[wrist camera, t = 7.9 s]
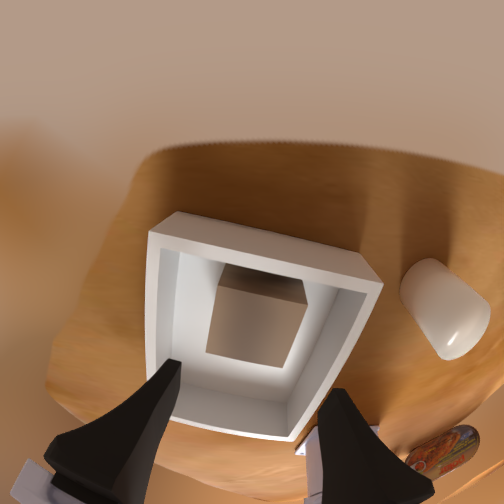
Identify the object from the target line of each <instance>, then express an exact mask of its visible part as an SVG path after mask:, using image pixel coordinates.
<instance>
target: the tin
mask: <svg viewBox="0 0 504 504" xmlns="http://www.w3.org/2000/svg"><path fill="white" fill-rule="evenodd" d="M479 443H480V436H479V433H478V431H477V430H476V429H475V428H474V427H472V426H470V425H459V426H456V427H454V428H452V429H450V430H449V431H447V432H445V433H444V434H442V435H440V436H438V437H437V438H435V439H433V440H431V441H429V442H427V443H425V444H423V445H421V446H419V447H417V448H416V449H414V450H413V451H412V452H411V453H410V454H409V455H408V457H407V458H406V460H405V464H407V465H408V466H409V467H411V468H412V469H414V470H415V471H417V472H418V473H420V474H422V475H424V476H426V477H427V478H429V479H431V480H432V482H433V481H435V480H437V479H439V478H441V477H442V476H444V475H446V474H448V473H450V472H451V471H453V470H455V469H457V468H458V467H460V466H462V465H463V464H465V463H466V462H468V461H469V460H470V459H471V458H472V457H473V456H474V455H475V453H476V451H477V449H478V447H479Z"/></svg>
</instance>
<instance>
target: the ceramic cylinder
mask: <svg viewBox="0 0 504 504" xmlns="http://www.w3.org/2000/svg"><path fill="white" fill-rule="evenodd" d="M399 294H400V300H401V302H402V304H403V305H404V306H405V308H406V309H407V311H408V312H409V313H410V315H411V316H412V317H413V319H414V320H415V322H416V323H417V324H418V326H419V327H420V329H421V330H422V331H423V333H424V334H425V336H426V337H427V339H428V340H429V342H430V343H431V345H432V346H433V348H434V349H435V351H436V352H437V354H438V355H439V357H440V358H442V359H444V360H452V359H456V358H458V357H460V356H462V355H464V354H465V353H467V352H468V351H469V350H470V349H471V348H473V347H474V346H475V345H476V343H477V342H478V341H479V340H480V338H481V337H482V335H483V334H484V332H485V330H486V328H487V326H488V323H489V320H490V313H491V311H490V306H489V304H488V302H487V301H486V300H485V299H484V298H482V297H481V296H480V295H479V294H478V293H477V292H476V291H475V290H473V289H472V288H471V287H470V286H469V285H468V284H467V283H465V282H464V281H463V280H462V279H461V278H459V277H458V276H457V275H456V274H455V273H453V272H452V271H451V270H450V269H449V268H447V267H446V266H445V265H444V264H442V263H441V262H440V261H438V260H437V259H434V258H426V259H423V260H420V261H418V262H417V263H415V264H414V265H413V266H412V267H411V268H410V269H409V270H408V271H407V273H406V274H405V276H404V277H403V279H402V282H401V285H400V291H399Z"/></svg>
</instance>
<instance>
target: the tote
mask: <svg viewBox="0 0 504 504" xmlns="http://www.w3.org/2000/svg"><path fill="white" fill-rule="evenodd" d="M226 263H229V264H233V265H238V266H242V267H247V268H251V269H256V270H260V271H264V272H269V273H274V274H278V275H283V276H287V277H292V278H296V279H301V280H302V281H303V285H304V289H305V293H306V298H307V302H308V307H307V310H306V312H305V315H304V317H303V320H302V323H301V325H300V328H299V330H298V333H297V335H296V338H295V340H294V342H293V345H292V347H291V350H290V352H289V354H288V357H287V359H286V361H285V364H284V366H283V368H277V367H271V366H266V365H260V364H255V363H250V362H245V361H240V360H235V359H231V358H226V357H222V356H218V355H213V354H209V353H205V351H206V345H207V340H208V334H209V328H210V323H211V317H212V312H213V306H214V301H215V296H216V290H217V285H218V282H219V280H220V277H221V274H222V272H223V269H224V266H225V264H226ZM383 285H384V283H383V282H382V281H381V279H380V278H379V277H378V276H377V274H376V273H375V272H374V270H373V269H372V268H371V267H370V265H369V264H368V263H367V262H366V260H365V259H364V258H363V257H362V255H361V254H360V253H357V252H353V251H349V250H345V249H341V248H337V247H333V246H329V245H325V244H321V243H317V242H313V241H309V240H305V239H300V238H296V237H292V236H288V235H284V234H279V233H275V232H271V231H266V230H262V229H258V228H253V227H249V226H244V225H240V224H236V223H231V222H226V221H222V220H217V219H213V218H208V217H203V216H199V215H194V214H189V213H185V212H180V211H176V212H175V213H173V214H172V215H170V216H169V217H168V218H166V219H165V220H163V221H162V222H160V223H159V224H158V225H156V226H155V227H153V228H152V229H151V230H149V234H148V246H147V262H146V283H145V350H146V371H147V381H148V380H149V379H150V378H151V377H152V376H153V375H154V374H155V373H156V372H157V370H158V369H159V368H160V367H161V366H162V365H163V363H164V362H165V361H166V360H167V359H168V358H170V359H174V360H177V361H181V362H182V366H181V381H180V391H179V394H178V398H177V401H176V404H175V407H174V410H173V412H172V415H171V417H170V420H173V421H177V422H180V423H184V424H188V425H192V426H196V427H200V428H204V429H209V430H214V431H218V432H223V433H229V434H234V435H240V436H247V437H254V438H261V439H270V440H279V441H291V442H293V441H294V440H295V439H296V437H297V436H298V435H299V433H300V432H301V431H302V429H303V428H304V426H305V425H306V424H307V422H308V421H309V419H310V418H311V416H312V415H313V413H314V412H315V410H316V409H317V407H318V406H319V404H320V403H321V401H322V400H323V398H324V397H325V395H326V394H327V392H328V390H329V389H330V387H331V386H332V384H333V382H334V381H335V379H336V377H337V376H338V374H339V372H340V371H341V369H342V367H343V365H344V364H345V362H346V360H347V358H348V357H349V355H350V353H351V351H352V349H353V347H354V345H355V344H356V342H357V340H358V338H359V336H360V334H361V332H362V330H363V328H364V326H365V324H366V322H367V320H368V318H369V316H370V314H371V312H372V310H373V307H374V305H375V303H376V301H377V299H378V296H379V294H380V292H381V290H382V287H383Z"/></svg>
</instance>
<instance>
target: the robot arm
mask: <svg viewBox="0 0 504 504" xmlns="http://www.w3.org/2000/svg"><path fill="white" fill-rule="evenodd" d="M181 366H182V362H181V361H177V360H174V359H170V358H168V359H167V360H166V361H165V362H164V363H163V365H162V366H161V367H160V368H159V369H158V370H157V372H156V373H155V374H154V375H153V376H152V377H151V378H150V379H149V380H148V381H147V382H146V383H145V384H144V385H143V386H142V387H141V388H140V389H139V390H137V391H136V392H135V393H134V394H133V395H132V396H130V397H129V398H128V399H127V400H125V401H124V402H123V403H122V404H120V405H119V406H117V407H116V408H114V409H113V410H111V411H110V412H108V413H107V414H105V415H103V416H102V417H100V418H98V419H96V420H94V421H92V422H90V423H88V424H86V425H84V426H82V427H79V428H77V429H75V430H72V431H69V432H66V433H63V434H60V435H57V436H56V437H55V438H54V440H53V441H52V442H51V443H50V445H49V447H48V449H47V451H46V452H45V454H44V459H45V460H46V462H47V463H48V464H50V466H51V467H52V468H53V469H54V470H55V471H56V473H55V475H53V474H51V473H50V472H49V471H47V470H46V469H44V468H43V467H41V466H39V465H38V464H37V463H35V462H34V461H32V460H31V459H27V461H26V463H25V465H24V467H23V468H22V471H21V472H20V474H19V476H18V478H17V480H16V482H15V484H14V486H13V488H12V490H11V492H10V495H11V496H12V497H14V498H15V499H16V500H17V501H19V502H20V503H21V504H144V499H145V495H146V490H147V486H148V482H149V478H150V474H151V470H152V466H153V463H154V459H155V455H156V452H157V449H158V446H159V443H160V440H161V438H162V436H163V433H164V431H165V429H166V426H167V424H168V422H169V419H170V417H171V415H172V412H173V410H174V407H175V404H176V401H177V398H178V394H179V391H180V381H181ZM379 429H380V427H379V426H369V425H368V423H367V422H366V421H365V419H364V418H363V416H362V415H361V413H360V412H359V410H358V409H357V407H356V406H355V404H354V403H353V401H352V400H351V398H350V397H349V395H348V393H347V392H346V390H345V389H339V388H333V389H332V391H331V393H330V394H329V396H328V397H327V399H326V400H325V402H324V403H323V405H322V406H321V408H320V409H319V411H318V426H315V427H314V428H313V429H312V431H311V432H310V433H309V435H308V436H307V437H306V438H305V440H304V441H303V442H302V443H301V445H300V446H299V447H298V448H297V450H296V451H295V454H296V455H306V469H307V487H308V498H304V504H420V503H422V502H423V501H425V500H427V499H429V498H430V497H431V496H433V495H434V493H435V490H434V487H433V483H432V480H431V479H429V478H427V477H426V476H424V475H422V474H420V473H418V472H417V471H415V470H414V469H412V468H411V467H409V466H408V465H407V464H405V463H404V462H403V461H402V460H400V459H399V458H398V457H397V456H396V455H395V454H394V453H393V452H391V451H390V450H389V449H388V447H387V446H386V445H385V444H384V443H383V442H382V441H381V440H380V439H379V437H378V433H377V431H378V430H379Z"/></svg>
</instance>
